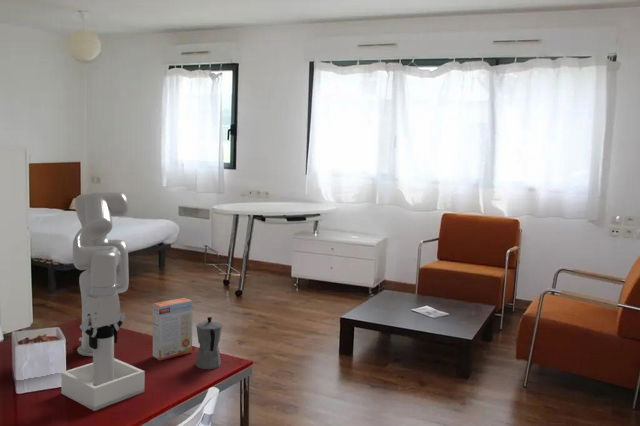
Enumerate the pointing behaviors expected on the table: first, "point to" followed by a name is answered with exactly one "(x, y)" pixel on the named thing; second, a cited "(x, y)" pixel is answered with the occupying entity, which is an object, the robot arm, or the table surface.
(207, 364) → the coffeepot
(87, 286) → the robot arm
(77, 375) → the bin
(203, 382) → the table surface
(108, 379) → the travel mug
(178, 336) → the cracker box
